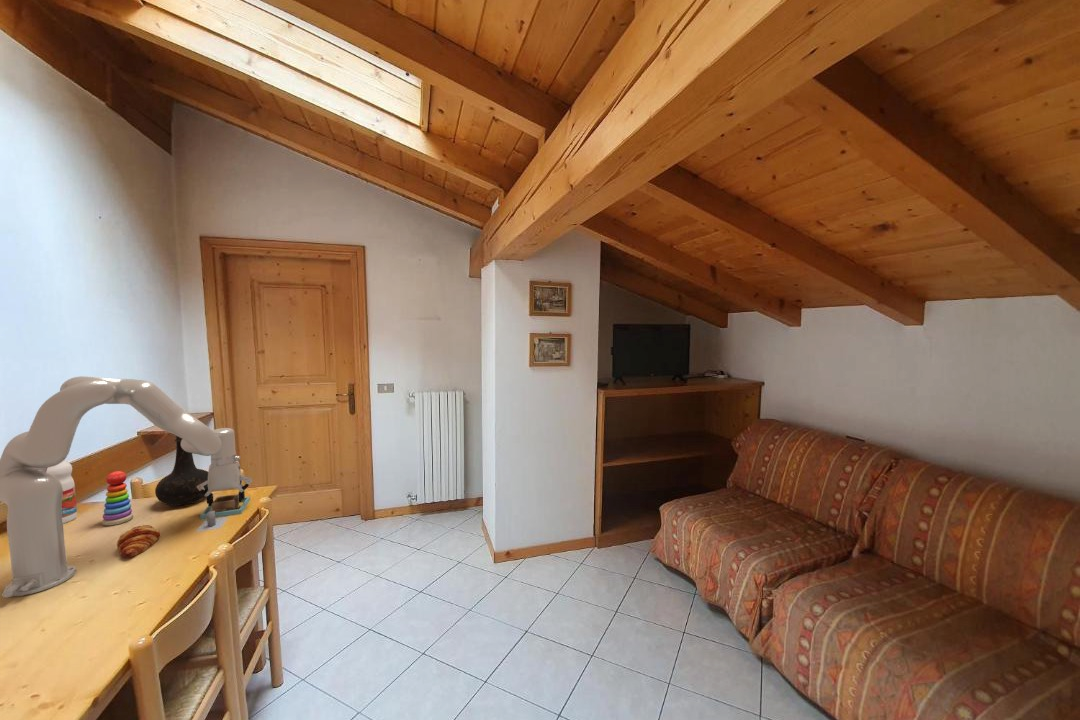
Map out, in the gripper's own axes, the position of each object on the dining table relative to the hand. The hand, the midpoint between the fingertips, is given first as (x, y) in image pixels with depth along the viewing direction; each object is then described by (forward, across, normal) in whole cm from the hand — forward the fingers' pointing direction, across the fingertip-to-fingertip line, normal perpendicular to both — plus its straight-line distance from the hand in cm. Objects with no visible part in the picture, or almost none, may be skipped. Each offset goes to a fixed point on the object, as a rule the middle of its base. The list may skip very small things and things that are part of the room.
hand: (226, 502), depth 156 cm
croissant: (+4, +18, +19) cm, 27 cm away
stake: (+3, +1, +13) cm, 13 cm away
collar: (+3, 0, 0) cm, 3 cm away
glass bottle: (+4, +18, -17) cm, 25 cm away
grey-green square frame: (+3, 0, 0) cm, 3 cm away
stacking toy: (+4, +34, -5) cm, 35 cm away
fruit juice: (+4, +54, -13) cm, 56 cm away
